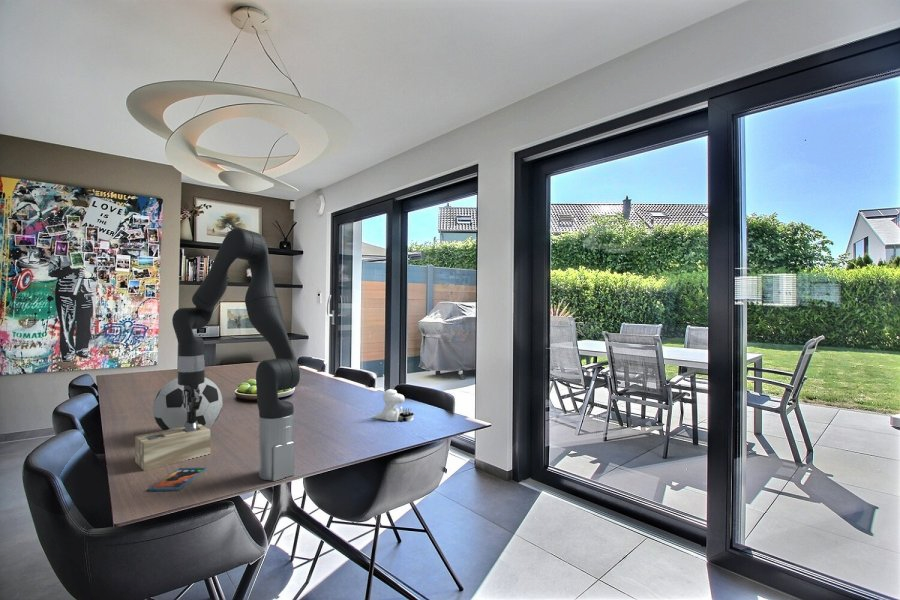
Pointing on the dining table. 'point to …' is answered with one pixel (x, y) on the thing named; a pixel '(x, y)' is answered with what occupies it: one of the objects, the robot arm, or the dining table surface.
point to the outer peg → (155, 437)
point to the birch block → (171, 447)
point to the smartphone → (176, 479)
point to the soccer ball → (175, 415)
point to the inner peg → (191, 426)
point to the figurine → (394, 408)
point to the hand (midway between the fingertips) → (191, 422)
